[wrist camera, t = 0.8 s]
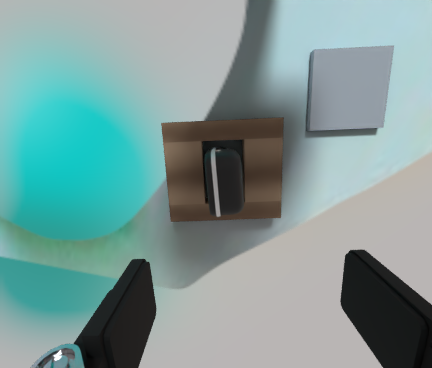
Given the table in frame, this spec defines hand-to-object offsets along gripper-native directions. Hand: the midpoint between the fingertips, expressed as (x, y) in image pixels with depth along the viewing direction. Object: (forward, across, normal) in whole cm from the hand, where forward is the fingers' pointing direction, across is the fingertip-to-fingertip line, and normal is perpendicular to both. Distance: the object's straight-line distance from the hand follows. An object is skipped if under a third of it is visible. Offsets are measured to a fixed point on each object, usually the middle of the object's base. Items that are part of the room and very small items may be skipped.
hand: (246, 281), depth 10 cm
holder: (+23, 0, -1) cm, 23 cm away
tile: (+23, -17, -11) cm, 30 cm away
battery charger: (+23, 0, -1) cm, 23 cm away
